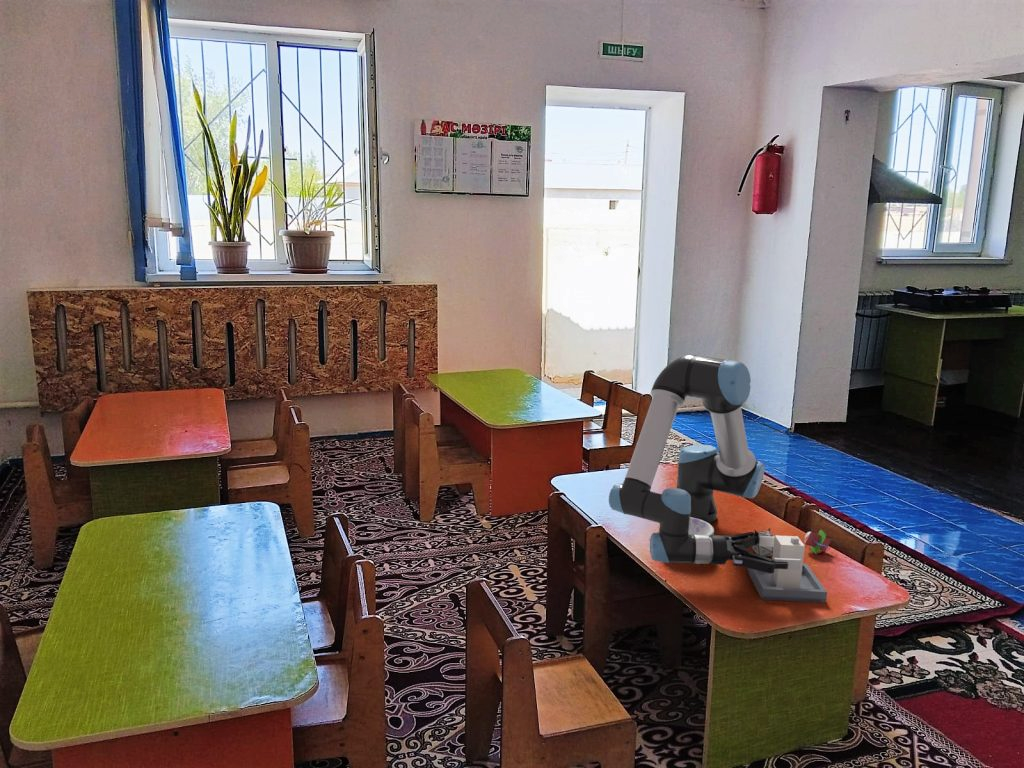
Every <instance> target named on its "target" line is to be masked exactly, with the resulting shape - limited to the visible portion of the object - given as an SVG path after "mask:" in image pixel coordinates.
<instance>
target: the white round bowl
mask: <svg viewBox="0 0 1024 768" xmlns="http://www.w3.org/2000/svg"><path fill="white" fill-rule="evenodd" d="M688 534H700V535H708V536H709V537H710V536H711V535H715V528H714V526H712V525H711V523H707V522H705V521H703V520H700V519H697V518H692V517H690V522H689V532H688Z"/></svg>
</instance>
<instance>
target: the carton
mask: <svg viewBox="0 0 1024 768" xmlns="http://www.w3.org/2000/svg"><path fill="white" fill-rule="evenodd" d="M774 537H775V538H774V547H773V556H771V559H773V560H774V558H788V559H800V560H801V563H800V570H785V569H774V573H773V574H772V573H771V575H770V577H771V579H772V581H773V582H774V584H775V586H776V587H780V588H800V583H801V575H802V566H803V564H804V557H805V556H804V555H805V548H806V546H805V545H806V544H805V543H803V541H802V540H801V538H799V536H797V535H796V536H794V535H793V536H792V535H776V534H775V535H774Z"/></svg>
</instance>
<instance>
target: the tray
mask: <svg viewBox="0 0 1024 768" xmlns="http://www.w3.org/2000/svg"><path fill="white" fill-rule="evenodd" d="M746 572H747V574H748V576H749V578H750V577H751V578H750V580H751V582H752V581H753V582H752V583H754V584H753V585H754V587H755V589H756V591H757V592H758V595H759V596H760V598H761V600H763V601H780V602H781V601H784V602H785V601H786V602H787V601H788V602H799V603H800V602H801V603H802V602H803V603H804V602H805V603H821V604H822V603H823V604H827V596H828V591H827V590H826V588H825V587H824V586H823V584H822V583H821V581H820V580H819V578H818V577H817V576H816V574H815V573H814V572H813V570H812V569H811V568H810V566H809V565H808V563H803V566H802V575H801V583H800V588H780V587H776V586H775V584H774V582H773V581H772V579H771V577H770V575H771V573H767V572H763V571H759V570H754V569H750V568H746Z"/></svg>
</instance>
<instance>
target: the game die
mask: <svg viewBox="0 0 1024 768" xmlns="http://www.w3.org/2000/svg"><path fill="white" fill-rule="evenodd" d="M755 532H758V533H759V536H774V535H773V533H772V532H771V527H769V528H768V530H764V531H758V530H756V529H754V533H755ZM750 548H751V549H752V550H753V551H754V553H755V554H758V555H761V556H764V557H770V556H771V557H772V556H773V547H764V546H759V543H758V544H757V545H755V546H752V547H750Z"/></svg>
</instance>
